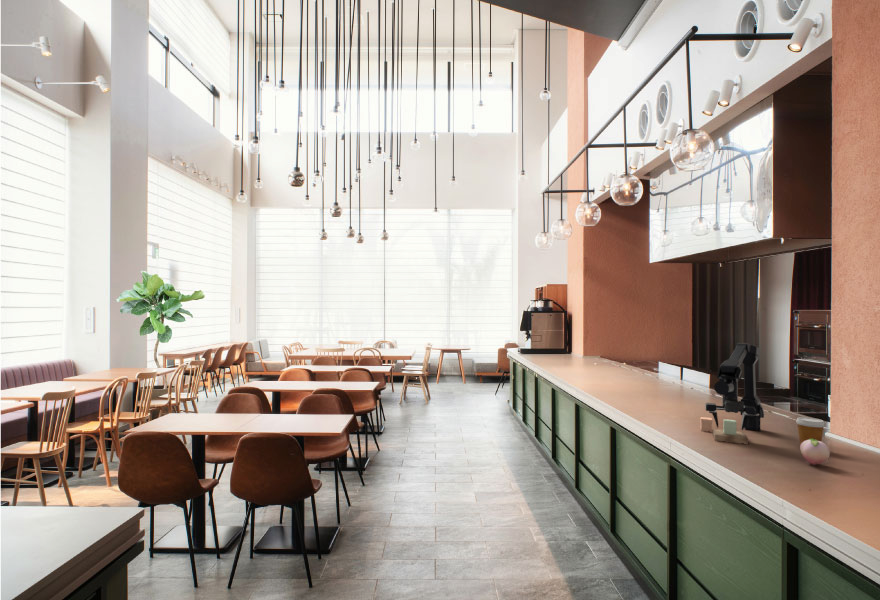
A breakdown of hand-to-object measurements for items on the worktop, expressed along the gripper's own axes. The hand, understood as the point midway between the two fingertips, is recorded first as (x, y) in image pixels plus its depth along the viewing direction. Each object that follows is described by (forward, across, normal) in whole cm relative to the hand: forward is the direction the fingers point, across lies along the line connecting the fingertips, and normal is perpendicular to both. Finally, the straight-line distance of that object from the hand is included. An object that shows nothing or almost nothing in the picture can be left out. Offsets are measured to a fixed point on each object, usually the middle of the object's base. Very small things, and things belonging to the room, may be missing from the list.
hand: (729, 428), depth 217 cm
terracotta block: (+5, -8, +14) cm, 17 cm away
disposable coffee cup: (+5, +28, -3) cm, 29 cm away
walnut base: (+4, 0, 0) cm, 4 cm away
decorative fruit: (+5, +24, -28) cm, 37 cm away
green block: (+2, 0, 0) cm, 2 cm away
